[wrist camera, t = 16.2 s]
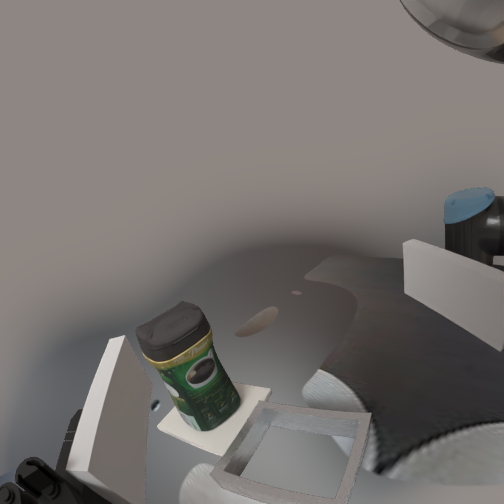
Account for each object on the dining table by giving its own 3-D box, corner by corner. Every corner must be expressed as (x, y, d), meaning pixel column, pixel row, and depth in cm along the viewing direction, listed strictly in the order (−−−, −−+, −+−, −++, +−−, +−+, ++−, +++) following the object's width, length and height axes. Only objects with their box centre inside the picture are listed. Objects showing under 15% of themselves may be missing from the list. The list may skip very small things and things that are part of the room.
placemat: (204, 378, 47) (202, 374, 47) (272, 392, 40) (271, 388, 40) (159, 429, 36) (156, 426, 36) (230, 459, 29) (228, 456, 29)
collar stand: (265, 418, 35) (259, 400, 34) (369, 431, 28) (371, 412, 27) (221, 487, 24) (209, 474, 23) (341, 518, 17) (342, 509, 16)
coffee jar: (217, 384, 44) (179, 292, 38) (250, 402, 38) (213, 302, 33) (175, 416, 37) (122, 324, 32) (205, 441, 32) (147, 343, 26)
